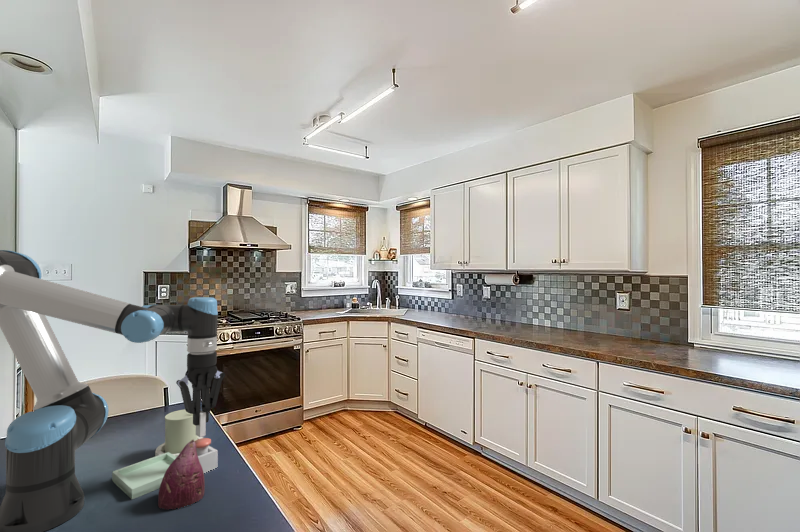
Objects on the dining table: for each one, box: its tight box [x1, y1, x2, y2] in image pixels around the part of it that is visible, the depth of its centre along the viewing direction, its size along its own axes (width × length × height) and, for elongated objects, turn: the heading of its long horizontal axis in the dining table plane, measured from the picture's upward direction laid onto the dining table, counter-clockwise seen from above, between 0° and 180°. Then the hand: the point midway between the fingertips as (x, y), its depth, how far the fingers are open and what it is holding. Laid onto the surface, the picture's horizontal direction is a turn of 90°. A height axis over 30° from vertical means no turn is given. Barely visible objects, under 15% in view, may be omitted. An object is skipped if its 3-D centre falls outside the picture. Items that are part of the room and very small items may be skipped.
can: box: [164, 408, 198, 454], centre depth 121 cm, size 9×9×12 cm
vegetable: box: [157, 439, 206, 510], centre depth 98 cm, size 10×10×15 cm
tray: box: [111, 452, 176, 500], centre depth 105 cm, size 14×14×2 cm
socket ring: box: [154, 436, 204, 457], centre depth 121 cm, size 14×14×2 cm
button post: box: [198, 445, 219, 474], centre depth 110 cm, size 6×6×5 cm
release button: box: [194, 437, 212, 456], centre depth 110 cm, size 5×5×6 cm
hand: (200, 435), depth 110 cm, fingers closed
